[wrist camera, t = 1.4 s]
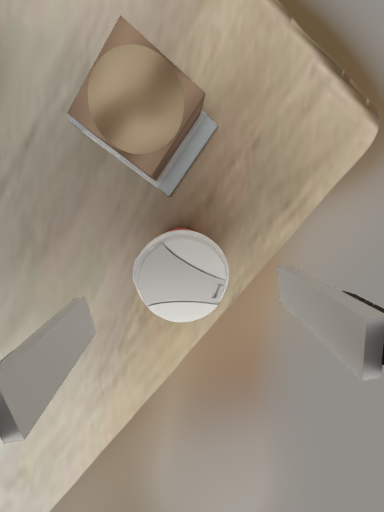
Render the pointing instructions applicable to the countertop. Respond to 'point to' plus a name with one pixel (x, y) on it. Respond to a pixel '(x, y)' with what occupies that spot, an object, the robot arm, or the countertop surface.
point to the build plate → (179, 160)
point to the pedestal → (137, 101)
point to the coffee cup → (181, 275)
